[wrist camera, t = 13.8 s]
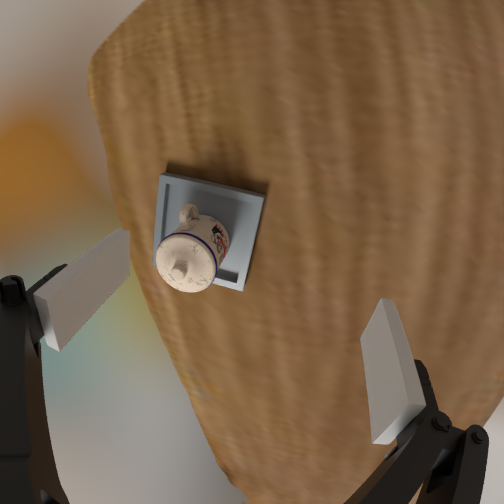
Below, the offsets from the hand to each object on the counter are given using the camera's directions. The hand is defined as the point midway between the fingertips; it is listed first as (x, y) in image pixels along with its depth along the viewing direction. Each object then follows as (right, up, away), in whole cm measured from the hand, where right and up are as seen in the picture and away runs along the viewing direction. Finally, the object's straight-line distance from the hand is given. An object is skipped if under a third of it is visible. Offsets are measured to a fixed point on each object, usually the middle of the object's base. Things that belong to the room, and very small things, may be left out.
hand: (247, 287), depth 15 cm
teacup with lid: (-7, +5, +34) cm, 35 cm away
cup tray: (-7, +5, +35) cm, 36 cm away
